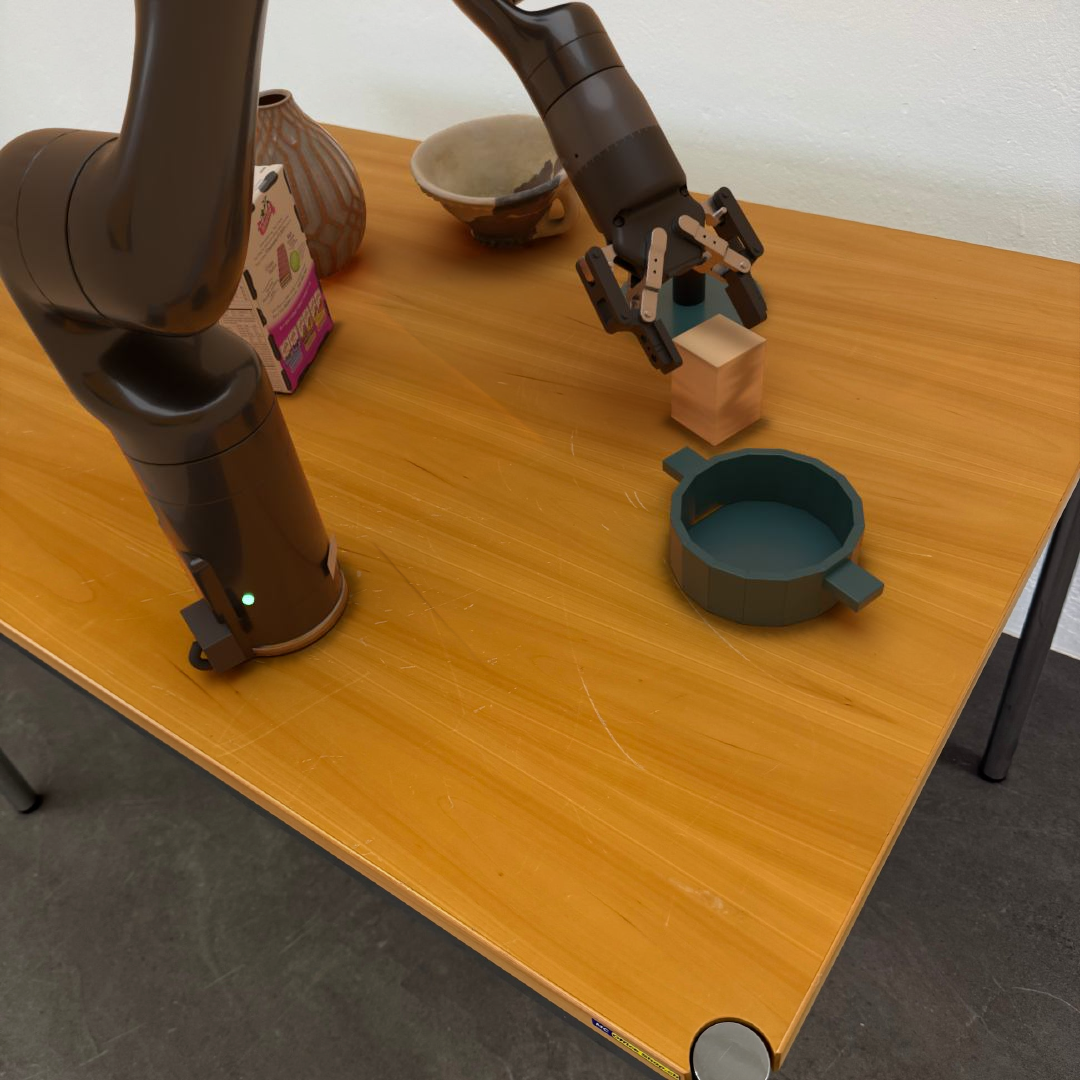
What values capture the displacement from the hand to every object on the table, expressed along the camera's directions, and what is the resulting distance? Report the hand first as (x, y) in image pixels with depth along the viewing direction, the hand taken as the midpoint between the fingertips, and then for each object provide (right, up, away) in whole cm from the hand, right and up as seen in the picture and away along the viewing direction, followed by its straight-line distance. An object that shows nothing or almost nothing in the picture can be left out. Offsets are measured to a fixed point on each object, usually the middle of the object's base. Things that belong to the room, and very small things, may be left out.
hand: (717, 346), depth 71 cm
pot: (+2, -16, -5) cm, 17 cm away
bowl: (-17, +18, +31) cm, 39 cm away
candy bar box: (-37, +2, +18) cm, 41 cm away
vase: (-37, +15, +30) cm, 50 cm away
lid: (0, +8, +17) cm, 19 cm away
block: (+1, -5, +5) cm, 7 cm away
